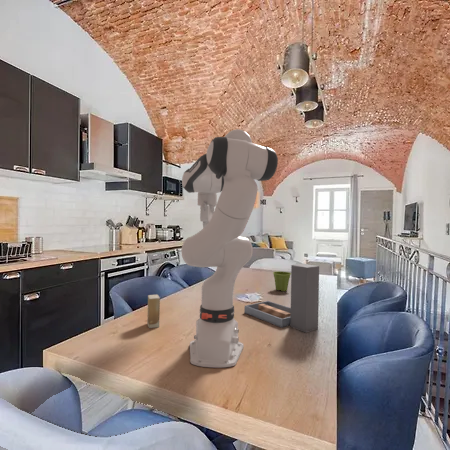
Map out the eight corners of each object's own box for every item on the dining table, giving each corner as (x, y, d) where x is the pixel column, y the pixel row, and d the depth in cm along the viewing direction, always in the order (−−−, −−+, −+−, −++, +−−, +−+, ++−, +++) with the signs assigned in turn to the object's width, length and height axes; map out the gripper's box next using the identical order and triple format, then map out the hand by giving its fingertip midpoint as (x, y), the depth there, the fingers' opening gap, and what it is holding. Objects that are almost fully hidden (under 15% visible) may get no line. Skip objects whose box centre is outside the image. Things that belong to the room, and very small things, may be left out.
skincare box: (147, 323, 124) (147, 294, 124) (157, 322, 126) (157, 294, 126) (148, 328, 118) (149, 298, 118) (159, 327, 120) (160, 297, 120)
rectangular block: (258, 310, 143) (258, 304, 143) (262, 309, 145) (263, 303, 145) (285, 321, 128) (285, 314, 128) (290, 320, 130) (290, 313, 130)
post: (290, 326, 123) (291, 265, 123) (302, 322, 128) (303, 263, 128) (305, 332, 117) (307, 267, 117) (318, 328, 122) (319, 266, 122)
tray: (244, 312, 141) (244, 305, 141) (268, 307, 151) (268, 300, 151) (282, 327, 122) (282, 319, 122) (306, 320, 131) (306, 312, 131)
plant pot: (271, 291, 187) (271, 273, 187) (274, 287, 198) (274, 270, 198) (289, 293, 183) (290, 275, 183) (291, 289, 194) (292, 272, 194)
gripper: (211, 200, 125) (211, 232, 125) (215, 203, 145) (215, 231, 145) (197, 199, 125) (196, 232, 125) (203, 203, 146) (202, 230, 146)
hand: (206, 231), depth 136 cm, fingers open, 8 cm apart
